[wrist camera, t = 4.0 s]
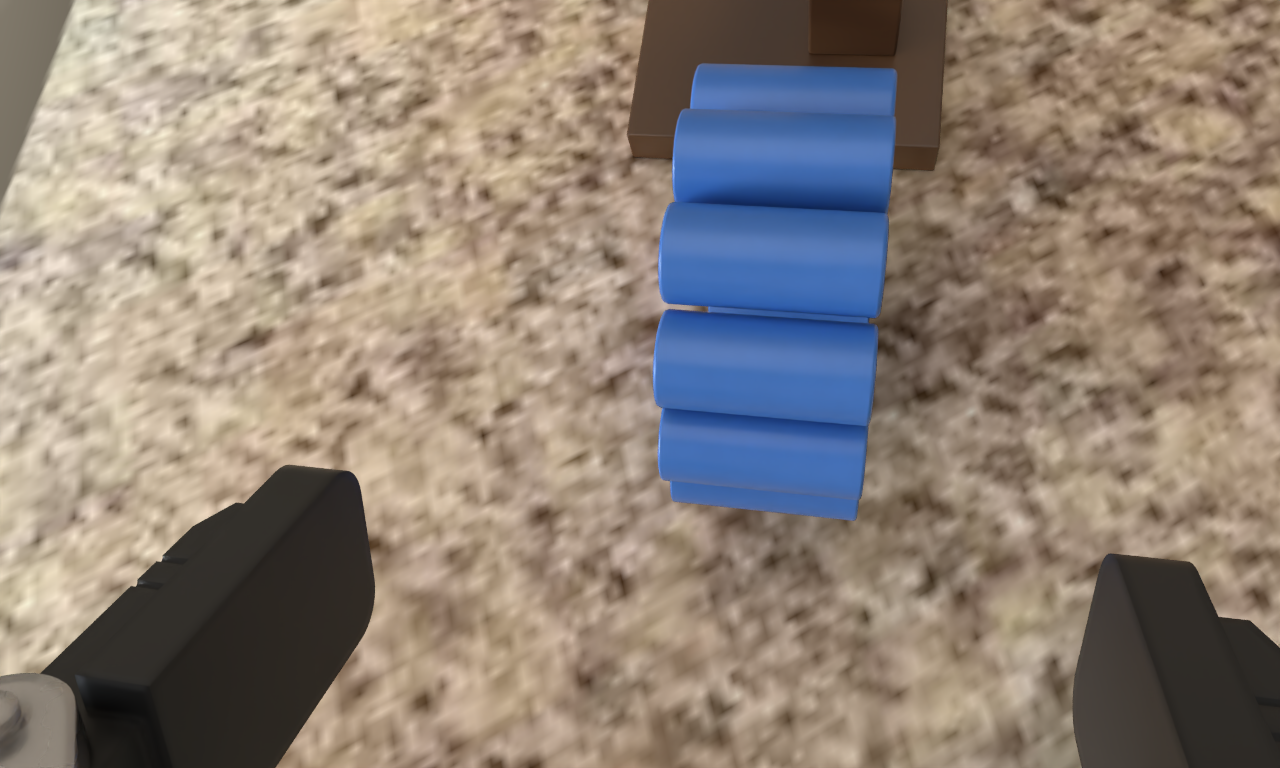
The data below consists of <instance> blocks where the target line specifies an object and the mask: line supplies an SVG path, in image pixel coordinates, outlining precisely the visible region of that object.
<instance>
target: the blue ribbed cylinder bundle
mask: <svg viewBox="0 0 1280 768" xmlns="http://www.w3.org/2000/svg"><path fill="white" fill-rule="evenodd" d="M896 91H897V72H896V70H895V69H893V68H857V67H820V66H782V65H745V64H708V63H702V64H700V65H698V67H697V69H696V72H695V75H694V79H693V85H692V92H691V103H690V109H687V108H685V109H683V110H682V111H681V113H680V115H679V118H678V121H677V125H676V131H675V138H674V147H673V163H672V181H673V194H674V199H675V202H673V203H670V204H669V205H668V207H667V209H666V212H665V215H664V218H663V223H662V228H661V235H660V244H659V259H658V277H659V288H660V293H661V297H662V300H663V301H664V302H666V303H668V304H681V305H695V306H708V312H703V311H689V310H675V309H668V310H665V311H664V313H663V315H662V317H661V319H660V322H659V326H658V330H657V335H656V342H655V349H654V360H653V391H654V398H655V401H656V404H657V406H659V407H661V408H663V409H662V414H661V421H660V429H659V440H658V468H659V473H660V477H661V479H663V480H666V481H670V491H671V497H672V500H673V501H675V502H683V503H692V504H702V505H711V506H720V507H730V508H739V509H749V510H758V511H767V512H777V513H786V514H796V515H805V516H814V517H824V518H833V519H843V520H852V521H854V520H856V518H857V512H858V503H859V500H860V498H861V496H862V490H863V482H864V473H865V463H866V451H867V438H868V425H869V423H870V420H871V415H872V407H873V398H874V389H875V378H876V366H877V352H878V327H877V325H875V324H871V323H869V318H876V317H878V316H879V314H880V312H881V306H882V299H883V291H884V281H885V271H886V260H887V248H888V233H889V218H888V215H887V214H888V208H889V201H890V193H891V183H892V174H893V163H894V151H895V138H896V118H895V117H894V115H895V104H896Z"/></svg>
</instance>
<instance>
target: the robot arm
mask: <svg viewBox="0 0 1280 768" xmlns="http://www.w3.org/2000/svg"><path fill="white" fill-rule="evenodd" d="M137 581H138V583H137V586H136V587H133V586H131V587H130V588H129V589H127V590H126V591H125V592H124V593H123V594H122V595H121V596H120V597H119V598H118V599H117V600H116V601H115V602H114V603H113V604H112V605H111V606H110V607H109V608H108V609H107V610H106V611H105V612H104V613H103V614H102V615H101V616H99V617H98V618H97V619H96V620H95V621H94V622H93V623H92V624H91V625H90V626H89V627H88V628H87V629H86V630H85V631H84V632H83V633H82V634H81V635H80V636H79V637H78V638H77V639H76V640H75V641H74V642H72V643H71V644H70V645H69V646H68V647H67V648H66V649H65V650H64V651H63V652H62V653H61V654H60V655H59V656H58V657H57V658H56V659H55V660H54V661H53V662H52V663H51V664H50V665H49V666H48V667H47V668H46V669H44V670H43V671H42V672H41V673H40V674H36V673H20V674H12V675H5V676H1V677H0V768H275V767H276V766H277V764H278V763H279V761H280V760H281V759H282V757H283V756H284V754H285V753H286V751H287V750H288V748H289V747H290V745H291V744H292V742H293V741H294V739H295V738H296V736H297V735H298V733H299V732H300V730H301V729H302V727H303V726H304V724H305V723H306V721H307V720H308V718H309V717H310V715H311V714H312V712H313V711H314V709H315V708H316V706H317V705H318V703H319V702H320V700H321V699H322V697H323V696H324V694H325V693H326V691H327V690H328V688H329V687H330V685H331V684H332V682H333V681H334V679H335V678H336V676H337V675H338V673H339V672H340V670H341V669H342V667H343V666H344V664H345V663H346V661H347V660H348V658H349V657H350V655H351V654H352V652H353V651H354V649H355V648H356V646H357V645H358V643H359V642H360V640H361V639H362V637H363V635H364V634H365V631H366V629H367V627H368V624H369V622H370V618H371V615H372V611H373V606H374V599H375V580H374V573H373V567H372V560H371V554H370V547H369V541H368V534H367V527H366V521H365V514H364V508H363V501H362V495H361V489H360V485H359V482H358V480H357V478H356V476H355V475H354V474H353V473H351V472H350V471H343V470H333V469H324V468H314V467H305V466H295V465H285V466H283V467H281V468H280V469H278V470H277V471H276V472H275V473H274V474H273V475H272V476H271V477H270V478H269V479H268V480H267V481H266V482H265V483H264V484H263V485H262V486H261V487H260V488H259V489H258V490H257V491H256V492H255V493H254V494H253V495H252V496H251V497H250V498H249V499H248V500H247V501H246V502H245V503H244V504H243V503H235V504H233V505H231V506H229V507H227V508H225V509H224V510H222V511H220V512H218V513H216V514H215V515H213V516H211V517H209V518H207V519H205V520H204V521H202V522H200V523H198V524H196V525H195V526H193V527H192V528H191V529H190V530H189V531H188V532H187V533H186V534H185V535H184V536H182V537H181V538H180V539H179V540H178V541H177V542H176V543H175V544H174V545H173V546H172V547H171V548H170V549H169V550H168V551H167V552H166V553H165V554H164V555H163V559H162V562H156V563H154V564H153V565H152V566H151V567H150V568H149V569H148V570H147V571H146V572H145V573H144V574H143V575H142V576H141V577H140V578H139V579H138V580H137ZM1073 725H1074V733H1075V738H1076V743H1077V747H1078V752H1079V756H1080V761H1081V765H1082V768H1280V648H1279V647H1278V646H1277V645H1276V644H1275V643H1274V642H1273V641H1272V640H1271V639H1270V638H1268V637H1267V636H1266V635H1265V634H1264V633H1263V632H1262V631H1261V630H1260V629H1259V628H1258V627H1256V626H1255V625H1254V624H1253V623H1252V622H1251V621H1250V620H1241V619H1232V618H1223V617H1218V615H1217V613H1216V611H1215V608H1214V606H1213V604H1212V602H1211V600H1210V597H1209V595H1208V593H1207V591H1206V589H1205V586H1204V584H1203V582H1202V580H1201V578H1200V575H1199V573H1198V571H1197V569H1196V567H1195V566H1194V565H1193V564H1192V563H1190V562H1187V561H1177V560H1168V559H1158V558H1149V557H1139V556H1130V555H1120V554H1108V555H1106V557H1105V558H1104V560H1103V562H1102V564H1101V567H1100V570H1099V574H1098V578H1097V582H1096V586H1095V591H1094V595H1093V599H1092V603H1091V608H1090V612H1089V616H1088V621H1087V625H1086V629H1085V634H1084V638H1083V642H1082V646H1081V651H1080V655H1079V659H1078V664H1077V668H1076V673H1075V679H1074V687H1073Z"/></svg>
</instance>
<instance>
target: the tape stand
mask: <svg viewBox="0 0 1280 768" xmlns="http://www.w3.org/2000/svg"><path fill="white" fill-rule="evenodd" d="M947 5H948V0H649V2H648V8H647V14H646V21H645V27H644V33H643V39H642V45H641V51H640V57H639V63H638V70H637V76H636V82H635V88H634V94H633V100H632V106H631V112H630V119H629V125H628V131H627V137H628V140H629V143H630V147H631V150H632V154H633V156H634V157H645V158H668V159H673V147H674V138H675V131H676V125H677V121H678V118H679V115H680V113H681V111H682V110H683V109H685V108H687V109H690V103H691V92H692V85H693V79H694V75H695V72H696V69H697V67H698V65H700V64H702V63H708V64H745V65H782V66H820V67H857V68H893V69H895V70H896V72H897V91H896V104H895V115H894V117H895V118H896V138H895V151H894V163H893V169H916V170H934V168H935V164H936V160H937V155H938V151H939V145H940V128H941V110H942V93H943V75H944V58H945V40H946V22H947Z"/></svg>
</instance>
